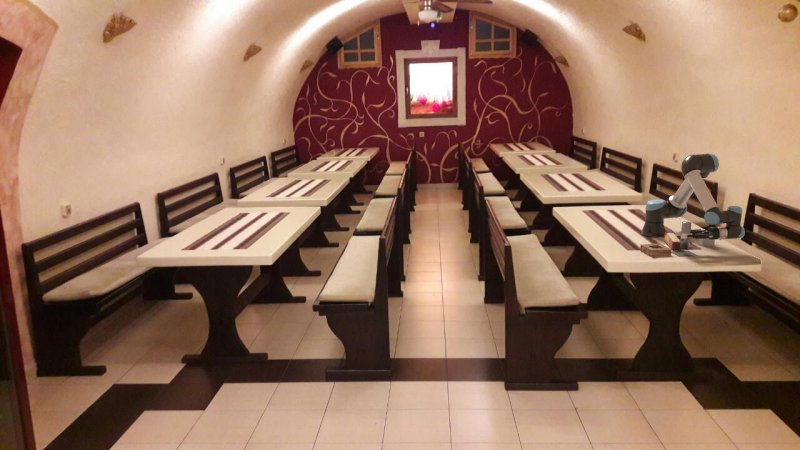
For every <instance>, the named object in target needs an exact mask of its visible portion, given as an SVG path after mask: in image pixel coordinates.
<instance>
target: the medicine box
mask: <svg viewBox="0 0 800 450" xmlns="http://www.w3.org/2000/svg"><path fill="white" fill-rule="evenodd" d="M715 241H716V240H710V239H709V238H707V239H698V245H699V246H702V247H714V246H715Z"/></svg>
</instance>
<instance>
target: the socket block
mask: <svg viewBox="0 0 800 450" xmlns="http://www.w3.org/2000/svg"><path fill="white" fill-rule="evenodd" d="M639 249H640V250H639V251H640V252H641V253H643V252H644V253H643V254H646V256H649V257H650V258H652V257H653V258H654V257H665V256H666V257H668V256H672V253H671V251H672V250H671V248H670V247H669V246H668V247H667V246H665V245H664V244H662V243H643V244H642V243H640V247H639Z"/></svg>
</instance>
